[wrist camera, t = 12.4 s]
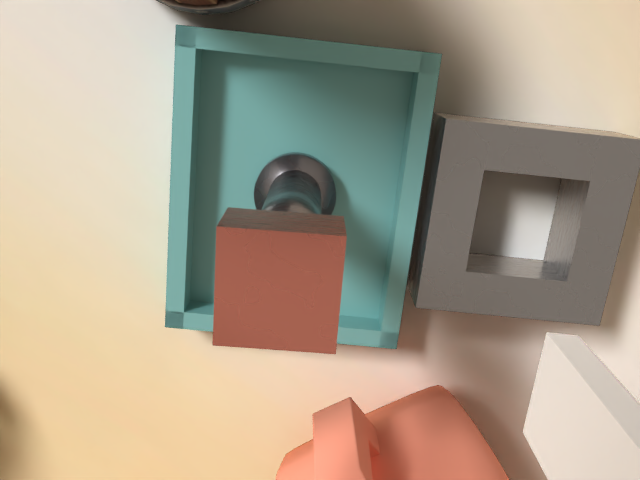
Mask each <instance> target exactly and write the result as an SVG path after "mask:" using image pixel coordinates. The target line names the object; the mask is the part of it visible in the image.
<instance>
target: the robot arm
mask: <svg viewBox="0 0 640 480" xmlns="http://www.w3.org/2000/svg"><path fill="white" fill-rule="evenodd" d="M523 434H524V436H525V437H526V439H527V441H528V443H529V445H530V447H531V449H532V451H533V453H534V455H535V456H536V458H537V460H538V462H539V464H540V466H541V468H542V470H543V472H544V474H545V476H546V477H547V479H548V480H640V404H639V402H638V401H637V400H636V399H635V398H634V397H633V396H632V395H631V393H630V392H629V391H628V390H627V389H626V388H625V387H624V386H623V384H622V383H621V382H620V381H619V380H618V379H617V378H616V377H615V376H614V374H613V373H612V372H611V371H610V370H609V369H608V368H607V367H606V365H605V364H604V363H603V362H602V361H601V360H600V359H599V358H598V357H597V355H596V354H595V353H594V352H593V351H592V350H591V349H590V348H589V346H588V345H587V344H586V343H585V342H584V341H583V340H582V339H581V337H580V336H579V335H572V334H561V333H551V332H546V336H545V340H544V345H543V349H542V353H541V357H540V361H539V366H538V370H537V374H536V378H535V382H534V387H533V391H532V395H531V399H530V403H529V408H528V412H527V416H526V420H525V424H524V429H523Z"/></svg>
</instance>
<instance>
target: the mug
mask: <svg viewBox="0 0 640 480" xmlns="http://www.w3.org/2000/svg"><path fill="white" fill-rule="evenodd" d="M156 1H159V2H161V3H163V4H165V5H167V6H169V7H171V8H174V9H176V10H179V11H185V12H191V13H196V14H202V15H209V14H218V13H228V12H233V11H236V10H238V9H241V8H243V7H246V6H248V5H251V4H253V3H255V2H258V1H259V0H156Z"/></svg>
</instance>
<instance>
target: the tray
mask: <svg viewBox="0 0 640 480" xmlns="http://www.w3.org/2000/svg"><path fill="white" fill-rule="evenodd" d="M441 57H442V54H439V53H430V52H421V51H412V50H403V49H394V48H384V47H375V46H366V45H357V44H348V43H339V42H330V41H321V40H312V39H303V38H294V37H285V36H275V35H266V34H257V33H248V32H239V31H230V30H221V29H212V28H203V27H194V26H185V25H176V35H175V63H174V91H173V119H172V147H171V175H170V203H169V231H168V259H167V287H166V315H165V327H169V328H180V329H190V330H201V331H211V332H213V317H214V285H215V254H216V226H217V225H218V223H219V221H220V220H221V218H222V216H223V215H224V213H225V212H226V210H227V208H228V207H231V208H244V209H256V206H255V202H254V187H255V183H256V181H257V178H258V176H259V174H260V172H261V171H262V169H263V168H264V167H265V165H266V164H267V163H268V162H269V161H271V160H272V159H274V158H275V157H277V156H279V155H282V154H285V153H291V152H300V153H305V154H309V155H311V156H314V157H315V158H317V159H319V160H320V161H321V162H322V163H323V164H324V165H325V166H326V167H327V168H328V169H329V171H330V173H331V174H332V177H333V179H334V183H335V188H336V203H335V207H334V210H333V212H332V214H331V215H336V216H344V221H345V227H346V234H347V240H346V250H345V261H344V272H343V282H342V293H341V303H340V314H339V324H338V335H337V343H338V344H348V345H359V346H369V347H380V348H390V349H397V342H398V336H399V329H400V323H401V316H402V310H403V303H404V297H405V290H406V284H407V278H408V271H409V265H410V258H411V252H412V245H413V239H414V232H415V226H416V219H417V213H418V206H419V200H420V193H421V187H422V180H423V174H424V167H425V161H426V155H427V148H428V142H429V135H430V129H431V122H432V116H433V109H434V103H435V96H436V90H437V83H438V77H439V70H440V64H441Z"/></svg>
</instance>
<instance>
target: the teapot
mask: <svg viewBox="0 0 640 480" xmlns="http://www.w3.org/2000/svg"><path fill="white" fill-rule="evenodd" d="M276 480H509V479H508V477H507V475H506V473H505V471H504V469H503V468H502V466H501V464H500V463H499V461H498V459H497V458H496V456H495V454H494V453H493V451H492V450H491V448H490V446H489V445H488V443H487V442H486V440H485V439H484V437H483V436H482V434H481V433H480V431H479V430H478V428H477V427H476V425H475V424H474V422H473V421H472V419H471V418H470V417H469V415H468V414H467V413H466V411H465V410H464V409H463V407H462V406H461V405H460V403H459V402H458V401H457V400H456V398H455V397H454V396H453V395H452V394H451V393H450V392H449V391H448V390H446V389H445V388H443V387H442V386H439V385H436V386H432V387H429V388H426V389H424V390H421V391H418V392H416V393H413V394H411V395H408V396H406V397H404V398H401V399H399V400H397V401H394V402H392V403H390V404H388V405H385V406H383V407H381V408H378V409H376V410H374V411H372V412H369V413H367V414H364V413H363V412H362V411H361V409H360V408H359V407H358V406H357V405H356V403H355V402H354V401H353V400H352V398H351V397H349V398H347V399H345V400H342V401H340V402H338V403H336V404H333V405H331V406H329V407H327V408H324V409H322V410H320V411H318V412H316V413H313V439H312V440H310V441H308V442H306V443H304V444H302V445H300V446H299V447H297V448H295V449H293V450H291V451H290V452H289V453H287V454H286V455H285V457H284V459H283V461H282V463H281V465H280V468H279V470H278V472H277V476H276Z"/></svg>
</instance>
